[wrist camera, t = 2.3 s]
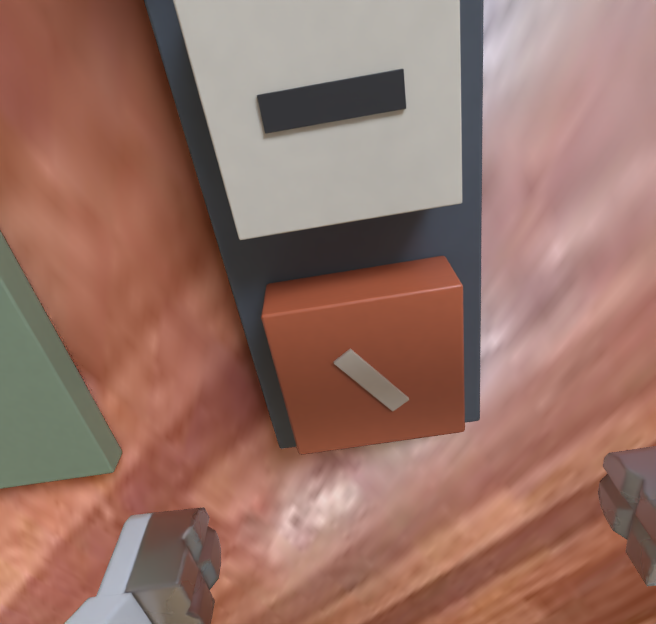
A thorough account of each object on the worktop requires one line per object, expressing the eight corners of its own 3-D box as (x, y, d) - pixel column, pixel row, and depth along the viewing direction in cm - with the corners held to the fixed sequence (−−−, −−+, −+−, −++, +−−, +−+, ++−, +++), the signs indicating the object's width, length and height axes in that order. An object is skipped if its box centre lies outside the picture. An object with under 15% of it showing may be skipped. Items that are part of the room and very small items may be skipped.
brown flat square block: (265, 282, 13) (259, 318, 11) (445, 254, 13) (465, 286, 11) (299, 414, 16) (298, 459, 14) (450, 392, 15) (467, 435, 14)
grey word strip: (-79, -797, 6) (-345, -1369, 4) (467, -957, 6) (590, -1710, 3) (281, 429, 17) (276, 496, 15) (471, 401, 17) (499, 465, 14)
